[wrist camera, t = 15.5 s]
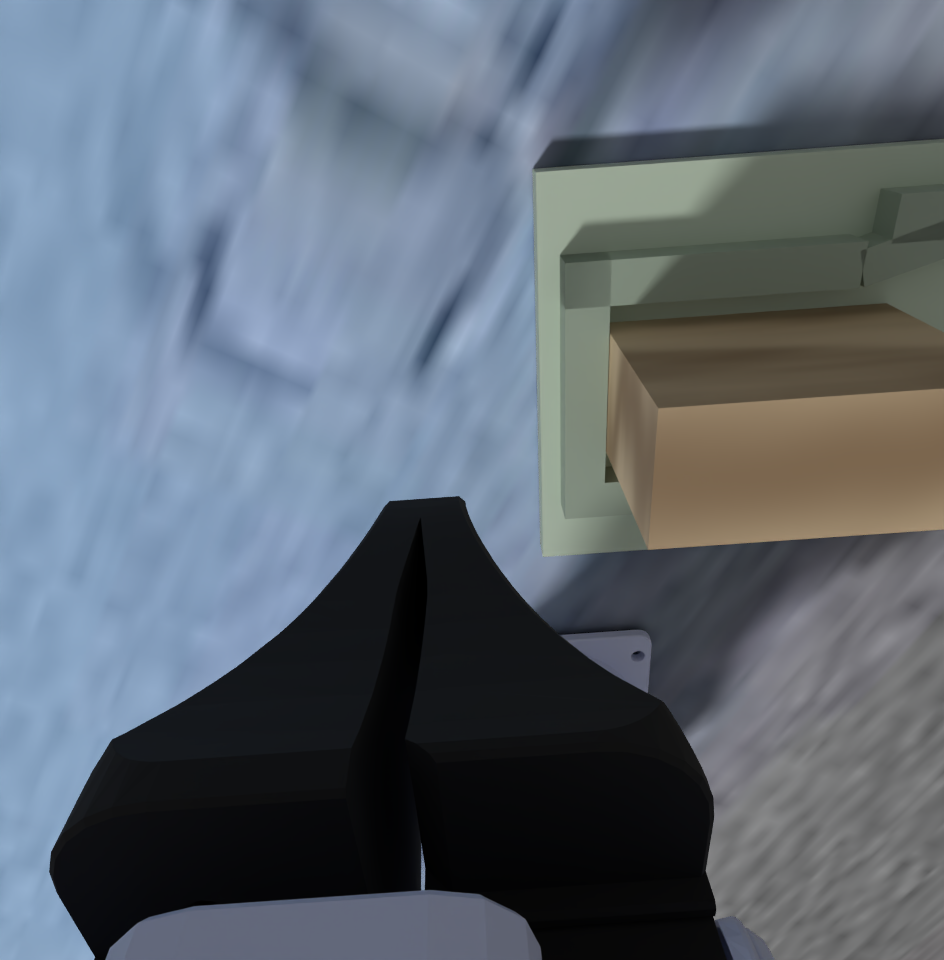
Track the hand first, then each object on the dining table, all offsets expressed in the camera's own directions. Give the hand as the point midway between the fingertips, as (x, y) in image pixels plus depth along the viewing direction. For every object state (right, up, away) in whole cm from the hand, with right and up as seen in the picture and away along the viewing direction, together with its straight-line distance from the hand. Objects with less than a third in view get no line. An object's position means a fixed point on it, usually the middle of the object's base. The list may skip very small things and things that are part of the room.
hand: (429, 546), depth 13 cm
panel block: (+9, +4, +8) cm, 13 cm away
